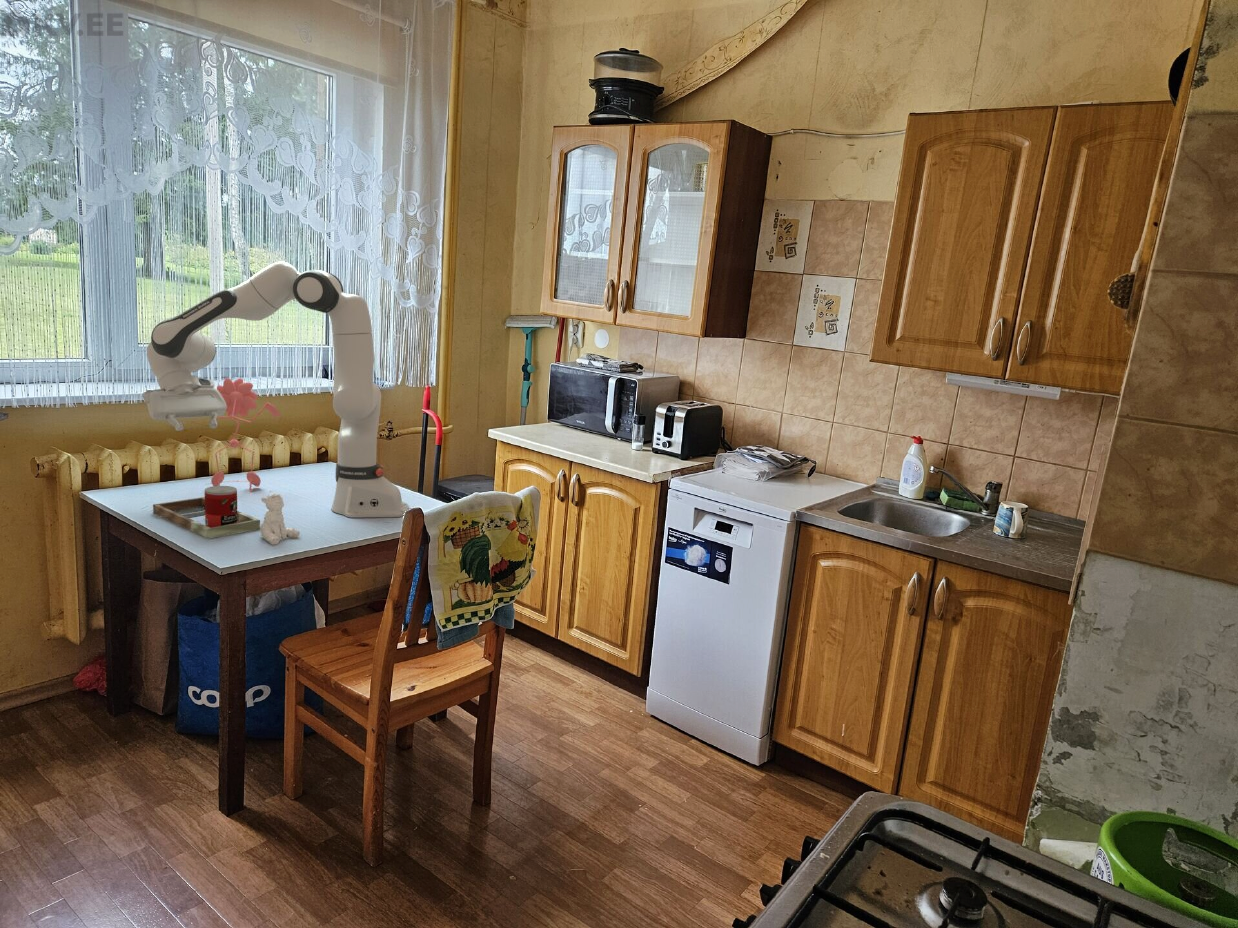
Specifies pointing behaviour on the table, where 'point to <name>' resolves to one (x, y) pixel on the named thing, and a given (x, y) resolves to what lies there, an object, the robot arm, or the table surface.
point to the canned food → (220, 506)
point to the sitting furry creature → (275, 521)
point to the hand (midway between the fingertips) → (197, 428)
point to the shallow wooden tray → (174, 516)
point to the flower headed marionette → (240, 402)
